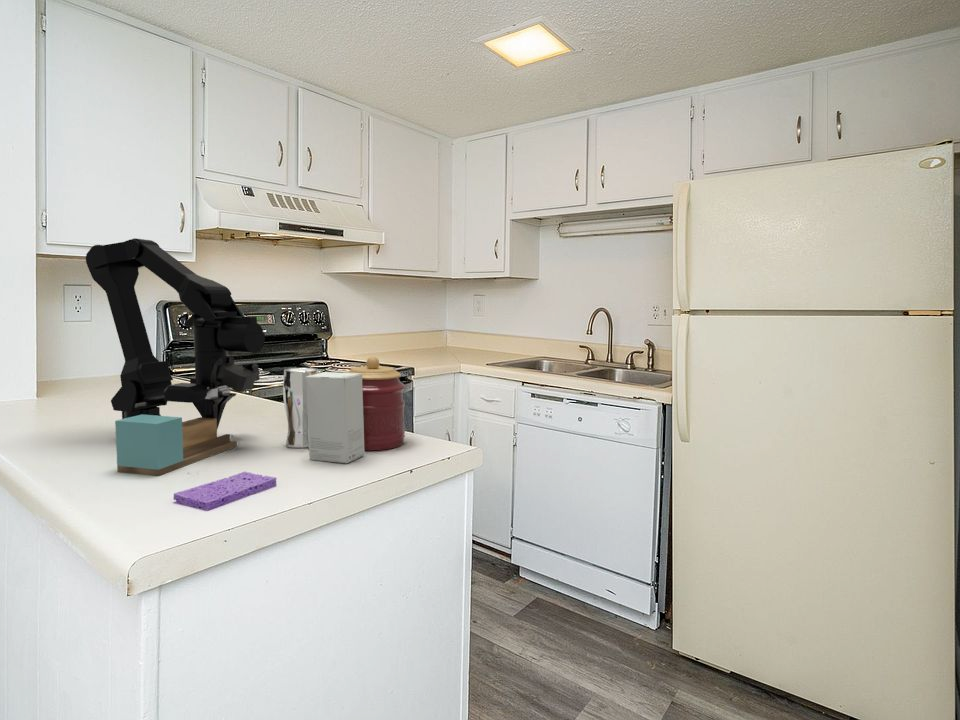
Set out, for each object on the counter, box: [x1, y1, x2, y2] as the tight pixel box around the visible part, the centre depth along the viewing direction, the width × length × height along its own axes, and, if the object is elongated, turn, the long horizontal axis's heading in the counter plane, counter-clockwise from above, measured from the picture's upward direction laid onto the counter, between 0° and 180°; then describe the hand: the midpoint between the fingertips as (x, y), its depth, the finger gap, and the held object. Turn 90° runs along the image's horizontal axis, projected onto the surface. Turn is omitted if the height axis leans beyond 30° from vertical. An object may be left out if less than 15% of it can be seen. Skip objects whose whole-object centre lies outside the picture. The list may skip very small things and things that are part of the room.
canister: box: [345, 356, 406, 451], centre depth 116 cm, size 13×13×18 cm
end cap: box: [114, 414, 183, 470], centre depth 96 cm, size 8×6×8 cm
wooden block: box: [182, 416, 218, 449], centre depth 103 cm, size 4×14×5 cm, turn 166°
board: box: [117, 433, 238, 477], centre depth 103 cm, size 8×20×2 cm, turn 167°
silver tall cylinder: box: [282, 367, 320, 449], centre depth 114 cm, size 7×7×15 cm
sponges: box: [173, 471, 277, 512], centre depth 85 cm, size 7×13×2 cm, turn 153°
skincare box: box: [306, 371, 366, 464], centre depth 105 cm, size 8×7×16 cm
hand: (213, 431), depth 111 cm, fingers closed
